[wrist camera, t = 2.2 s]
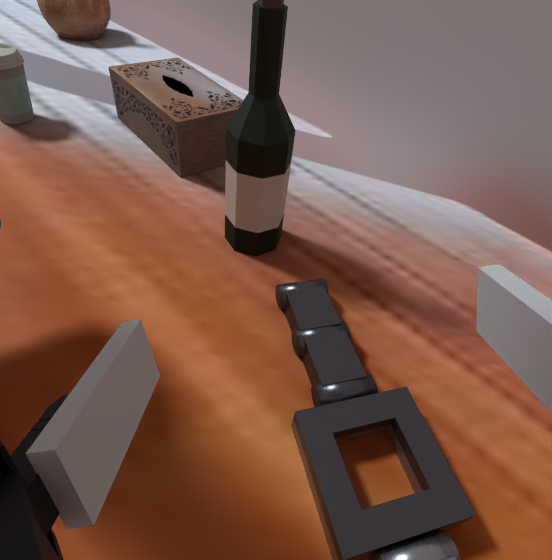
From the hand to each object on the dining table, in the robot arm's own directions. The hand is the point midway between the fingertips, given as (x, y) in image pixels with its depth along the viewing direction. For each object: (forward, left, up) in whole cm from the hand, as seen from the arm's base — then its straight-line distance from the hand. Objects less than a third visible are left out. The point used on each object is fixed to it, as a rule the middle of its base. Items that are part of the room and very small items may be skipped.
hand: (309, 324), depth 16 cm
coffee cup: (-29, +78, -26) cm, 87 cm away
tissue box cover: (+1, +68, -27) cm, 73 cm away
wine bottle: (+8, +36, -26) cm, 45 cm away
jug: (-20, +132, -26) cm, 136 cm away
